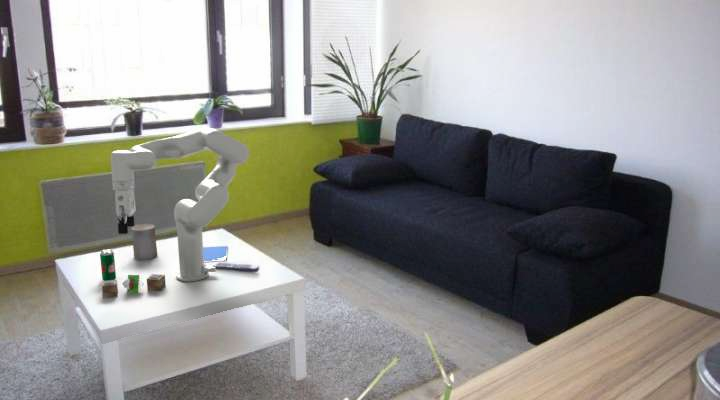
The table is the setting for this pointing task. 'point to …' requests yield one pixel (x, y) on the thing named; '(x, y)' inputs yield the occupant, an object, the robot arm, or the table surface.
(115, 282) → the marked block 1
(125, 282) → the geometric puzzle
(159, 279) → the marked block 2
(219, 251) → the tablet computer
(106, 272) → the soda can
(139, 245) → the pillar candle
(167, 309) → the table surface
